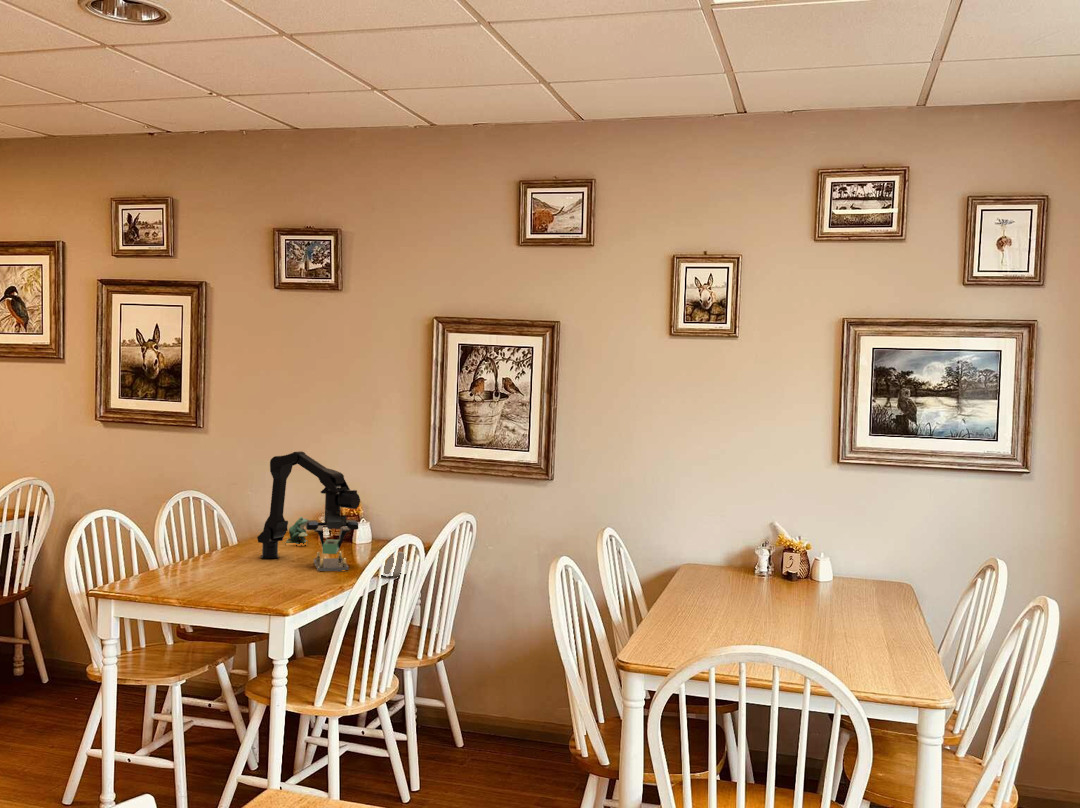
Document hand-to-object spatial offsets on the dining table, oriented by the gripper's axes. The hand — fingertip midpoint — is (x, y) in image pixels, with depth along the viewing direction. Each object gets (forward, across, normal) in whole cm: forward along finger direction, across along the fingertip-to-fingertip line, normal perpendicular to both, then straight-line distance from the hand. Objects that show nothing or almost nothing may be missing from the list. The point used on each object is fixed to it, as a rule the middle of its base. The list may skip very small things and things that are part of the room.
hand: (331, 548), depth 359 cm
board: (+1, 0, 0) cm, 1 cm away
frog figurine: (+8, -8, +47) cm, 48 cm away
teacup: (+7, +19, -16) cm, 26 cm away
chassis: (+7, 0, 0) cm, 7 cm away
